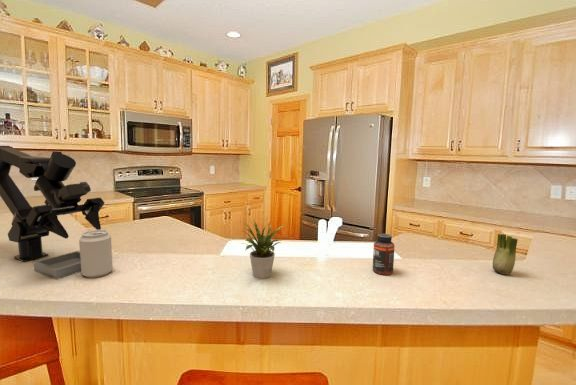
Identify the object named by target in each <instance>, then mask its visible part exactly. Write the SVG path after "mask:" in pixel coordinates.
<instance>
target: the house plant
mask: <svg viewBox="0 0 576 385" xmlns="http://www.w3.org/2000/svg"><path fill="white" fill-rule="evenodd" d="M266 221H267V219H265V220H264V223H263V226H262V232H261V231H260V229H259V227H258V224H257V223H256V222H255V221H253V222H252V224H253V226H254V228H255V232H256V236H255V234H254V232H253V230H252V229H251V227H250V226H249V225H248V224H247V223H246V222H243V221H239V223H242V224H244V225H246V226H247V228H246V227H245V228H244V227H243V229H245V230H247V231H248V232H249V233H250V234H249V233H247V232H246V231H244V230H242V232H244V233H245V234H246V235H247V236H248V238H246V239H245V240H244V241H246V242H247V245H246V247H245V252H246V251H247V250H249V249H252V247H253V249H254V250H252V251H251V252H250V253H249V259H250V263H251V264H250V265H251V271H252V276H253V277H254V278H256V279H267V278H269V277H271V275H272V272H273V265H274V261H275V260H274V259H275V255H276V254H275V252H274V251H275V246H276V245H277V244H282V242H280V241H282V239H281V240H280V239H273V237H274V236H275V234H277V233H278V231H279V230H280V229H281V228H283V227H284V226H285V224H283V225H280V226H279V227H278V228H276V229H275V230H274V231H273V232H271V230H272V223H270V224H269V223H268V224H267V226H268V225H269V227H268V229H267V232H266V235H264V234H265V229H266V228H267V226H265V227H264V225H265V223H266ZM251 235H252V237H253V238H252V237H251ZM254 240H255V241H254ZM278 241H279V242H278ZM275 242H276V243H275ZM248 243H249V245H248ZM242 244H246V243H244V242H242Z"/></svg>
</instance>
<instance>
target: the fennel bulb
mask: <svg viewBox="0 0 576 385" xmlns="http://www.w3.org/2000/svg"><path fill="white" fill-rule="evenodd" d="M496 241H497V243H496V248H495V252H494V254H493V259H492V269H493V270H494V272H496V273H498V274H500V275H506V276H507V275H511V274H512V272H513V270H514V267H515V263H516V253H517V245H518V244H517V243H518V238H516V237H513V236H511V235H507V234H504V233H498V234H497V240H496Z"/></svg>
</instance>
